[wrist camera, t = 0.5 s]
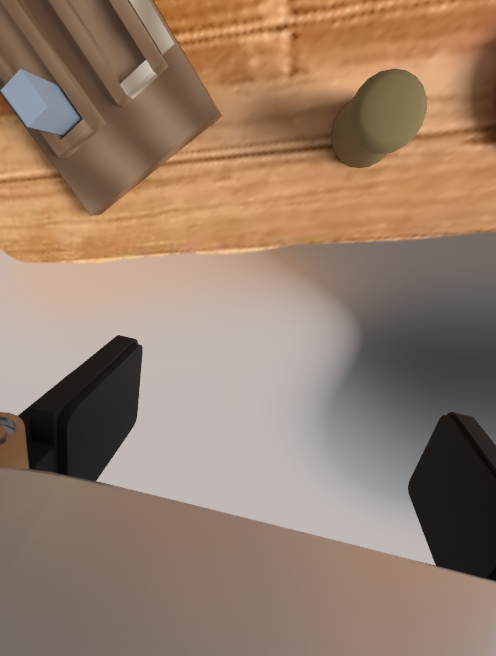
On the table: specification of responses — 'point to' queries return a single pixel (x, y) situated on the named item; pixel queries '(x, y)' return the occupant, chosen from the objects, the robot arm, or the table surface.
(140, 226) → the table surface
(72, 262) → the table surface
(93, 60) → the switch board
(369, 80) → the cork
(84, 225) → the table surface
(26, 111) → the slate-blue tab
